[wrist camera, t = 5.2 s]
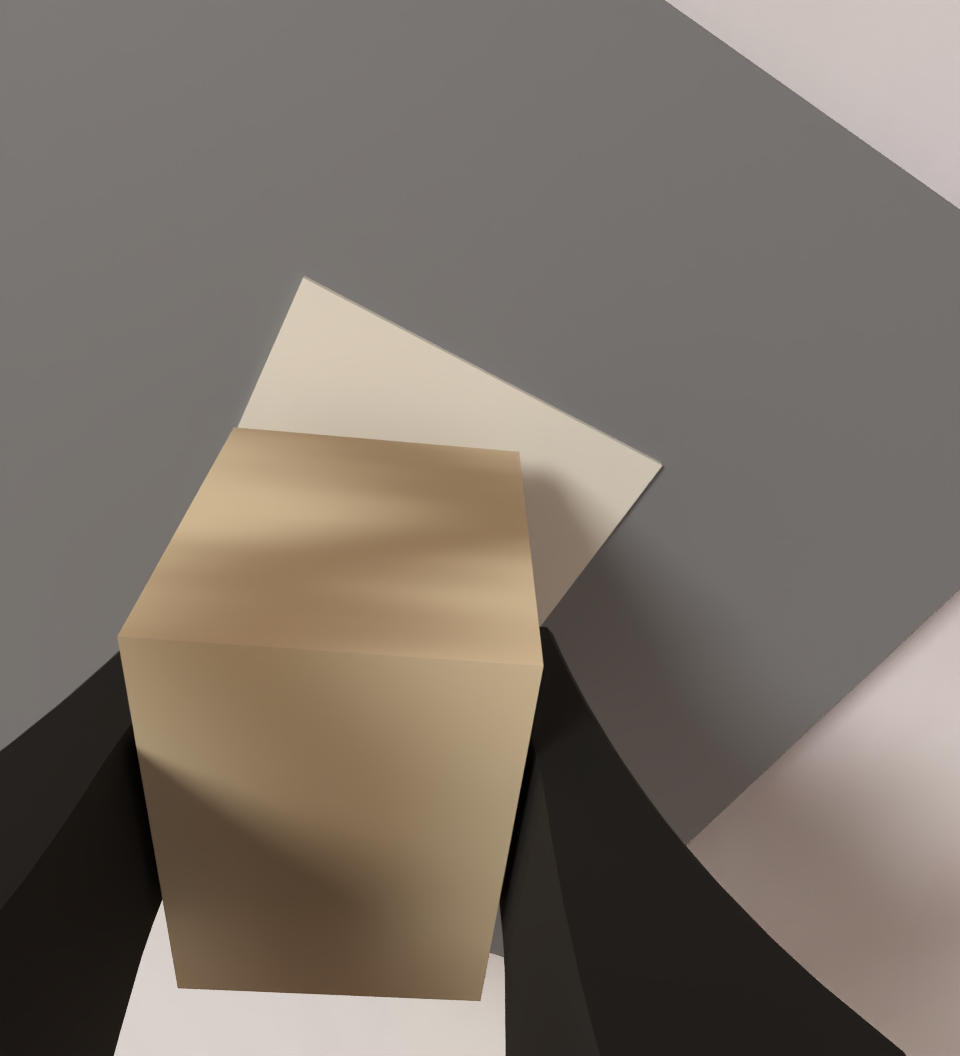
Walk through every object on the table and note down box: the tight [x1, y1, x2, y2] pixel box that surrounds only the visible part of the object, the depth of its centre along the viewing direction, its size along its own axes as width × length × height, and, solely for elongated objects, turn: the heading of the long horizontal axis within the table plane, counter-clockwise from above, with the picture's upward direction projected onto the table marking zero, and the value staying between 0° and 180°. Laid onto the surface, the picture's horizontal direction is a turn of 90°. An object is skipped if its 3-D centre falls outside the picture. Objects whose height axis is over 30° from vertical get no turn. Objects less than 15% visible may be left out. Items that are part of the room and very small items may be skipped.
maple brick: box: [117, 427, 543, 1001], centre depth 11 cm, size 4×6×4 cm, turn 174°
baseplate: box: [0, 0, 960, 957], centre depth 14 cm, size 18×18×1 cm
